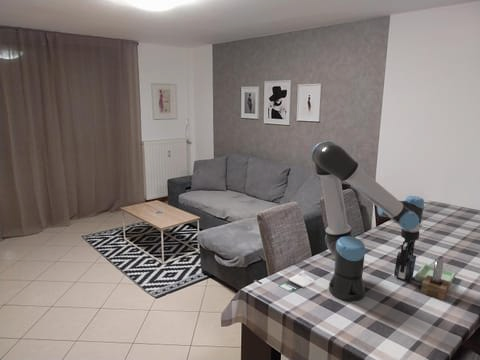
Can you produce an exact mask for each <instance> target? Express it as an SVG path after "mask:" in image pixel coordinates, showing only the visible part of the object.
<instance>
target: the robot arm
mask: <svg viewBox="0 0 480 360" xmlns="http://www.w3.org/2000/svg"><path fill="white" fill-rule="evenodd" d="M311 159H312V162H313V163H314V167H315V172H316V175H317V176H318V177H319V178H320V182H321V183H320V184H321V190H322V197H323V202H324V208H325V213H326V220H327V227H326V228H325V237H324V239H325V246H326V248H327V249H328V250H329V251H330V253H331V255H332V256H333V258H334V272H333V275H332V276H331V279H330V281H329V284H328V291H329V292H330V294H331V295H332V296H334V297H336V298H338V299H340V300H344V301H351V302H352V301H353V302H354V301H361V300H362V299H363V298H365V296H366V288H365V284H364V283H365V282H364V280H363V273H364V265H365V256H366V245H365V243H364V242H363V241H362V239H359V238H356V237H354V236H353V232H352V231H353V230H352V226H351V225H350V224H348V219H347V214H346V212H347V211H346V205H345V199H344V193H343V185H342V182H346V183H347V184H348V185H350V186H351V187H353V188H354V189H355V190H356V191H357V192H358V193H359V194H361V195H362V196H363V197H365V198H366V199H367V200H368V201H370V202H371V203H372V204H373V205H375V206H376V207H377V208H376V209H377V214H378V216H380V217H382V218H389V219H390V220H392V221H394V222H395V223H396V224H397V225H399V226H400V227H401V233H400V236H401V238H403V239H404V240H403V242H402V244H401V247H400V248H401V249H400V252H401V254H400V260H399V263H398V264H399V265H400V269H399V275H398V276H397V277H398V278H400V279H402V280H405V274H406V267H407V266H406V263H407V259H408V255H409V254H410V255H414V253H415V252H414V250H415V243H416V241H417V240H419V238H420V232H421V228H422V227H423V225H422V219H423V213H424V208H425V200H424V198H423V197H420V196H418V195H417V196H416V195H407V196H406V197H405V200H399V199H398V198H397V197H395V196H394V195H393V194H391V193H390V192H389V191H388V190H387V189H386V188H385V187H383V186H382V185H380V183H379V182H377V181H376V180H375V179H373V178H372V177H371V176H370V175H369V174H367V172H365V171H364V170H363V169H361V167H360V165H359V164H360V163H359V162H357V161H356V160H355V159H354V158H353V157H352V156H350V154H349V153H348V152H347V151H346V150H345V149H344V148H343V147H342V146H340V145H338V144H335V143H334V142H332V141H322V142H319V143H317V144H316V145H315V146H314V147H313V149H312V151H311Z"/></svg>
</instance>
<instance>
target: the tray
mask: <svg viewBox="0 0 480 360" xmlns="http://www.w3.org/2000/svg"><path fill="white" fill-rule="evenodd" d="M433 272H434V266H433V265H430V264H426V263H424V264H423V265H422V266H421V268H419V270H417V272H416V274H415V275H414V281H418V282H421V283H422V282H423V281H424V279H425V278H426V277H427V275H429V276H433ZM455 278H456V272H455V271H450V270H449V269H448V270H447V269H444V268H443V270H442V276H441V279H443V280H446V281H449V282H450V286H449V288H450V287H451V285H452V283H453V282H454V279H455Z"/></svg>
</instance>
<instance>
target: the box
mask: <svg viewBox="0 0 480 360" xmlns="http://www.w3.org/2000/svg"><path fill="white" fill-rule="evenodd" d="M400 254H401V251H398V253H397V255H396V261H395V266H394V273H393V276H395V277H398V275H399V269H400V265H399V264H398V263H399V260H400ZM416 260H417V255H414V254H413V255H410V254H409V255H408V259H407V263H406V266H407V267H406V274H405V279H406V280H409V281H413V277H414V271H415V266H416ZM405 279H404V280H405Z"/></svg>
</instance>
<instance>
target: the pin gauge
mask: <svg viewBox="0 0 480 360" xmlns="http://www.w3.org/2000/svg"><path fill="white" fill-rule="evenodd" d="M444 264H445V261H444V260H442V259H439V258H436V259H435V260H434V272H433V278H432V283H434V284H437V285H440V283H441V276H442V270H443V269H444Z"/></svg>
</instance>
